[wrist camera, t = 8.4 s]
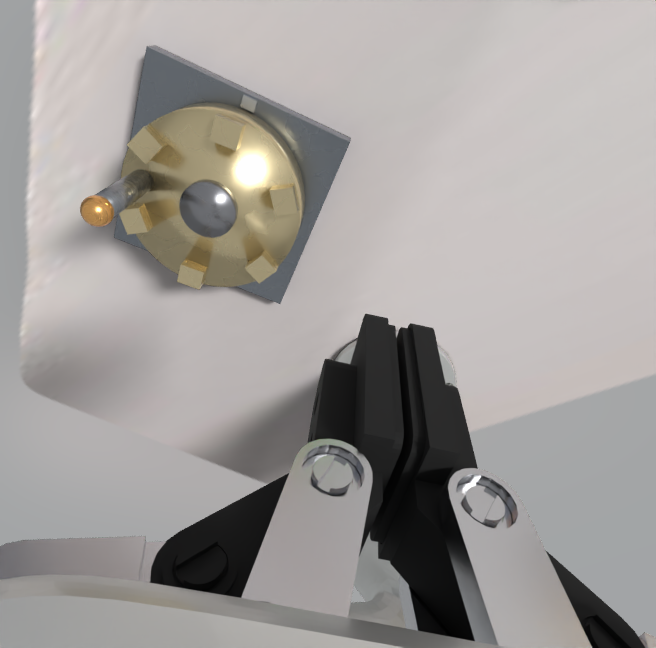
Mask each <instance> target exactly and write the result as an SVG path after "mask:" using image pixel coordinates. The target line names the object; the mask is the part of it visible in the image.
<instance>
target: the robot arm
mask: <svg viewBox="0 0 656 648" xmlns="http://www.w3.org/2000/svg"><path fill="white" fill-rule="evenodd" d="M456 386H457V381H456V374H455V371H454V367H453V364H452V362H451V360H450V359H449V357H448V355H447V354H446V353H445V352H444V351H443V350H442V349H441V347H439V346H438V345H437V342H436V337H435V332H434V329H433V328H430V327H425V326H420V325H416V324H410V325H409V326H408V328H402V327H401V328H400V330H399V331H396V329H395V326H393V325H388V319H387V318H384V317H379V316H374V315H370V314H365V316H364V318H363V322H362V325H361V328H360V332H359V335H358V339H357V340H356V341H354V342H352V343H351V344H349V345H348V346H347V347H346V348H345V349H344V350H342V351H341V352H340V354H339V355H338V357H337V358H336V359H335V361H333V360H329V359H325V361H324V364H323V368H322V372H321V376H320V380H319V384H318V388H317V393H316V397H315V402H314V407H313V413H312V419H311V425H310V432H309V438H308V444H306V445H305V446H303V447H302V448H301V449H300V451H299V452H298V454H297V455H296V457H295V459H294V462H293V465H292V467H291V470H290V472H289V473H288V474H286V475H285V476H283V477H281V478H279V479H277V480H275V481H273V482H272V483H270V484H268V485H266V486H264V487H262V488H260V489H259V490H257V491H255V492H253V493H251V494H249V495H247V496H245V497H244V498H242V499H240V500H238V501H236V502H234V503H232V504H230V505H228V506H227V507H225V508H223V509H221V510H219V511H217V512H215V513H214V514H212V515H210V516H208V517H206V518H204V519H202V520H200V521H199V522H197V523H195V524H193V525H191V526H189V527H187V528H185V529H184V530H182V531H180V532H178V533H177V534H176V535H174V536H173V537H171V538H170V539H169V540H167V541H158V542H146V537H145V536H130V537H98V538H69V539H40V540H39V539H38V540H21V541H17V542H11V543H6V544H4V545H2V546H0V648H656V637H654V636H652V635H649V634H647V633H645V632H644V633H643V634H642V635H641V636H639V637H638V636H637V634H636V633H635V631H634V630H633V629H632V628H631V627H630V626H629V625H628V624H627V623H626V622H625V621H624V620H623V619H622V618H621V617H620V616H619V615H618V614H617V613H616V612H615V611H613V610H612V609H611V608H610V607H609V606H608V605H607V604H605V603H604V602H603V601H602V600H601V599H600V598H599V597H598V596H596V595H595V594H594V593H593V592H592V591H591V590H590V589H588V588H587V587H586V586H585V585H584V584H583V583H582V582H580V581H579V580H578V579H577V578H576V577H575V576H574V575H573V574H571V572H569V571H568V570H567V569H566V568H565V567H564V566H563V565H562V564H560V563H559V562H558V561H557V560H556V559H555V558H553V556H551V555H550V554H549V553H548V552H547V551H546V550H545V548H544V546H543V544H542V542H541V540H540V538H539V536H538V534H537V531H536V529H535V528H534V525H533V523H532V521H531V519H530V517H529V515H528V513H527V510H526V508H525V506H524V504H523V502H522V501H521V499H520V498H519V496H518V494H517V493H516V492H515V491H514V490H513V489H512V488H511V486H509V484H508V483H506V482H505V481H503V480H502V479H501V478H499V477H498V476H496V475H494V474H492V473H489V472H488V471H485V470H481V469H478V468H477V464H476V460H475V456H474V451H473V447H472V444H471V440H470V435H469V431H468V427H467V423H466V419H465V415H464V411H463V407H462V403H461V399H460V395H459V391H458V389H457V388H456ZM354 586H355V588H356V589H357V591H358V592H359V593H360V595H361V596H362V597H363V599H364V600H365V602H355V603H351V597H352V592H353V587H354Z"/></svg>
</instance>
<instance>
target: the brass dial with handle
mask: <svg viewBox="0 0 656 648" xmlns="http://www.w3.org/2000/svg"><path fill="white" fill-rule="evenodd" d="M127 146H128V147H129V149H128V151H127V153H126V156H125V159H124V162H123V167H122V172H121V179H120V180H118V181H117V182H115V183H113V184H112V185H110V186H109V187H107V188H105V189H104V190H102V191H100V192H99V193H97V194H96V195H93V196H89V197H87V198H85V199H84V200H83V202H82V203H81V206H80V213H81V216H82V217H83V219H84V220H85V221H86V222H87V223H88V224H90V225H92V226H97V227H101V226H105V225H107V224H109V223H110V222H111V221H112V219H113V218H114V217H115V216H116V215H118V214H119V215H120V217H121V220H122V222H123V225H124V227H125V230H126V232H127V235H128V234H136V235H137V237H138V239H139V240H140V241H141V243H142V244H143V245H144V247H145V248H146V249H147V250H148V251H149V252H150V253H151V254H152V255H153V256H154V257H155V258H156V259H157V260H158V261H159V262H160V263H162V264H163V265H164V266H166V267H167V268H168V269H170V270H171V271H173V272H175V273H176V274H178V279H177V282H179V283H182V284H185V285H187V286H190V287H193V288H196V289H198V290H200V288H201V287H202V285H203V284H205V285H210V286H218V287H233V286H240V285H245V284H248V283H252V282H254V281H257V282H258V283H261V282H262V281H264V280H265V279H266V278H268V277H269V276H270V275H272V274H273V273H274V272H276V271H277V268H278V266H279V265H280V264H281V263H282V262H283V260H284V259H285V258H286V256H287V255H288V253H289V252H290V250H291V248H292V246H293V244H294V242H295V239H296V236H297V234H298V231H299V228H300V225H301V222H302V218H303V214H304V207H305V191H304V183H303V179H302V175H301V172H300V169H299V166H298V164H297V161H296V159H295V157H294V156H293V154H292V152H291V150H290V149H289V147H288V146H287V144H286V143H285V141H284V140H283V139H282V138H281V137H280V136H279V134H278V133H277V132H276V131H275V130H274V129H273V128H271V127H270V126H269V125H268V124H267V123H266V122H264V121H263V120H261V119H260V118H258V117H257V116H255V115H253V114H251V113H249V112H247V111H245V110H243V109H240V108H238V107H235V106H232V105H227V104H222V103H209V102H207V103H196V104H192V105H188V106H185V107H182V108H180V109H178V110H175V111H173V112H171V113H168V114H166V115H164V116H161V117H159V118H157V119H156V120H154V121H153V122H151V123H149V124H148V125H146V126H144V127H143V128H142V129H141V130H140V131H139V132H138V133H137V134H136V135H135V136H134V137H133V139H132V140H131V141H130V142H129V143H128V144H127Z"/></svg>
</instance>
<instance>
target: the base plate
mask: <svg viewBox="0 0 656 648" xmlns="http://www.w3.org/2000/svg"><path fill="white" fill-rule="evenodd" d="M207 102H209V103H222V104H227V105H232V106H235V107H238V108H240V109H243V110H245V111H247V112H249V113H251V114H253V115H255V116H257V117H258V118H260V119H261V120H263V121H264V122H266V123H267V124H268V125H269V126H270V127H271V128H273V129H274V130H275V131H276V132H277V133H278V134H279V136H280V137H281V138H282V139H283V140H284V141H285V143H286V144H287V146H288V147H289V149H290V150H291V152H292V154H293V156H294V157H295V159H296V161H297V164H298V166H299V169H300V172H301V175H302V179H303V183H304V191H305V207H304V214H303V218H302V222H301V225H300V228H299V231H298V234H297V236H296V239H295V242H294V244H293V246H292V248H291V250H290V252H289V253H288V255H287V256H286V258H285V259H284V260H283V262H282V263H281V264H280V265H279V266H278V268H277V271H276V272H274V273H273V274H272V275H270V276H269V277H268V278H266V279H265V280H264V281H262V282H261V283H258V282H257V281H254V282H252V283H248V284H245V285H240V286H236V287H239V288H241V289H244V290H246V291H249V292H251V293H254V294H256V295H259V296H261V297H264V298H266V299H269V300H271V301H274V302H276V303H279V304H280V303H281V301H282V298H283V296H284V294H285V291H286V289H287V287H288V284H289V282H290V280H291V277H292V275H293V273H294V271H295V268H296V266H297V264H298V261H299V259H300V257H301V254H302V252H303V250H304V247H305V245H306V243H307V240H308V238H309V236H310V234H311V231H312V229H313V227H314V224H315V222H316V220H317V217H318V215H319V213H320V210H321V208H322V206H323V203H324V201H325V199H326V196H327V194H328V192H329V190H330V187H331V185H332V183H333V180H334V178H335V176H336V173H337V171H338V169H339V166H340V164H341V162H342V159H343V157H344V155H345V152H346V150H347V148H348V146H349V143H350V139H351V138H350V137H348V136H346V135H344V134H341V133H339V132H337V131H335V130H333V129H331V128H329V127H327V126H324V125H322V124H320V123H318V122H316V121H314V120H312V119H310V118H308V117H305V116H303V115H301V114H299V113H297V112H295V111H293V110H291V109H289V108H286V107H284V106H282V105H280V104H278V103H276V102H274V101H272V100H269V99H267V98H265V97H263V96H261V95H259V94H257V93H255V92H253V91H250V90H248V89H246V88H244V87H242V86H240V85H238V84H236V83H234V82H231V81H229V80H227V79H225V78H223V77H221V76H219V75H217V74H214V73H212V72H210V71H208V70H206V69H204V68H202V67H200V66H198V65H195V64H193V63H191V62H189V61H187V60H185V59H183V58H181V57H179V56H176V55H174V54H172V53H170V52H168V51H166V50H164V49H162V48H160V47H157V46H147V48H146V53H145V59H144V65H143V71H142V77H141V83H140V88H139V94H138V100H137V106H136V112H135V117H134V123H133V129H132V135H131V140H132V139H133V137H134V136H135V135H136V134H137V133H138V132H139V131H140V130H141V129H142V128H143V127H144V126H146V125H148V124H149V123H151V122H153V121H154V120H156V119H157V118H159V117H161V116H164V115H166V114H168V113H171V112H173V111H175V110H178V109H180V108H182V107H185V106H188V105H192V104H196V103H207ZM128 149H129V148H128ZM114 238H117V239H119V240H122V241H124V242H127V243H129V244H132V245H134V246H137V247H139V248H142V249H144V250H147V249H146V248H145V247H144V245H143V244H142V243H141V241H140V240H139V239H138V237H137V235H136V234H128V235H127V232H126V230H125V227H124V225H123V222H122V220H121V217H120V215H119V214H118V216H117V222H116V228H115V234H114ZM147 251H148V250H147Z"/></svg>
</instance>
